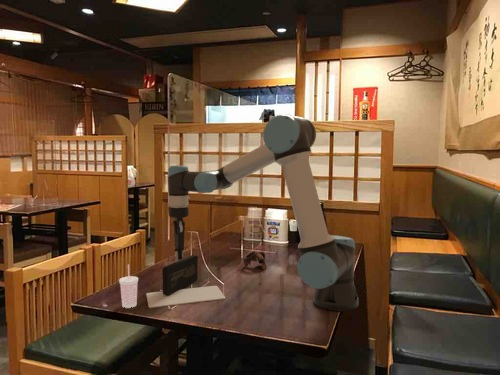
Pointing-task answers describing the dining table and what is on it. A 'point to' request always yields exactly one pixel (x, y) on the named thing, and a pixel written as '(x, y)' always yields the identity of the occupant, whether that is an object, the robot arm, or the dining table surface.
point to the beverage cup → (129, 290)
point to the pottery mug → (253, 256)
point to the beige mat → (184, 296)
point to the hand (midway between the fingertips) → (179, 266)
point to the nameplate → (180, 274)
